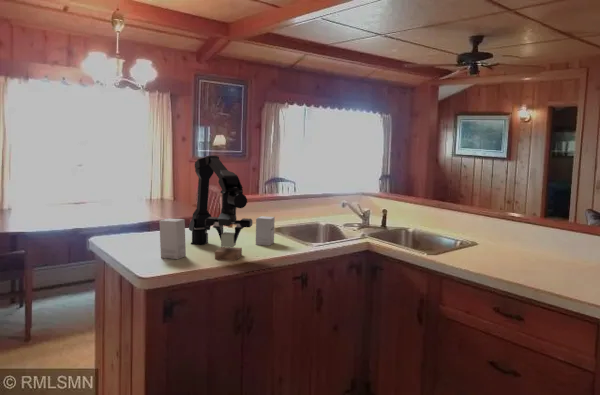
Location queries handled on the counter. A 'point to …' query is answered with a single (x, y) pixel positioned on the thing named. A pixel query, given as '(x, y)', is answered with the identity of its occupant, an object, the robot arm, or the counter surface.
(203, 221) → the robot arm
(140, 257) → the counter surface
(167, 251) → the skincare box
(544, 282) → the counter surface
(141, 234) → the counter surface
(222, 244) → the sage cube
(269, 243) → the supplement box
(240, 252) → the walnut block
